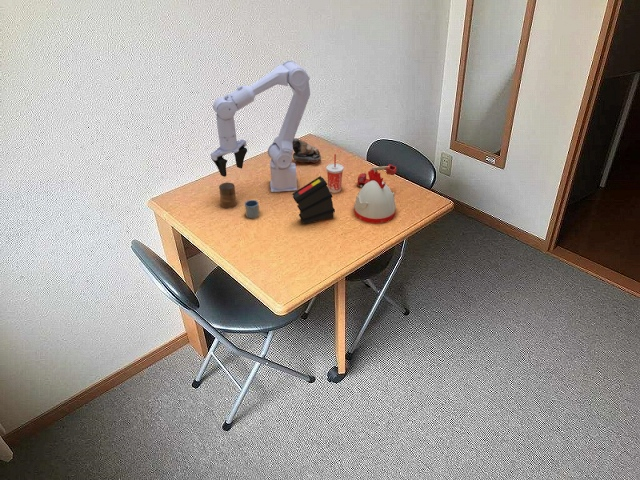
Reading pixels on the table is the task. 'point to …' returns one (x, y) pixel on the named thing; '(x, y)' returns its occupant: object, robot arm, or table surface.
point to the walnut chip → (227, 189)
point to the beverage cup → (334, 176)
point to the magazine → (314, 201)
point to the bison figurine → (305, 152)
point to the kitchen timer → (375, 201)
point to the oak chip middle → (228, 198)
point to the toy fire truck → (389, 170)
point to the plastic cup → (252, 209)
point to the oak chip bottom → (228, 204)
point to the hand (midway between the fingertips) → (231, 171)
